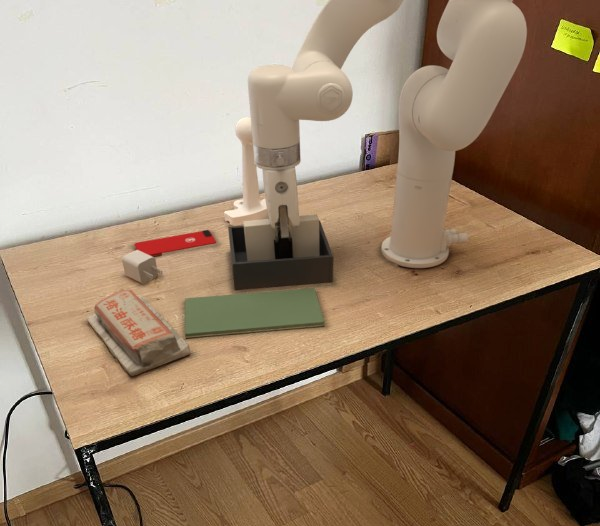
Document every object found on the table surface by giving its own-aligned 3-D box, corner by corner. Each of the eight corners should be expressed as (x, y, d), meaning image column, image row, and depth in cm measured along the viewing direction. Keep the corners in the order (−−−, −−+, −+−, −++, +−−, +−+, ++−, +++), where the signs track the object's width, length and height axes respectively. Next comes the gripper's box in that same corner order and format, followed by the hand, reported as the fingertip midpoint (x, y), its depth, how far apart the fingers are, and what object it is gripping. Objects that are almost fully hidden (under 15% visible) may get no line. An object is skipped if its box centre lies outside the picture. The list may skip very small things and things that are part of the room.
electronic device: (139, 258, 116) (217, 244, 120) (139, 256, 115) (216, 241, 119) (134, 245, 120) (209, 231, 124) (133, 242, 119) (208, 229, 123)
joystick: (236, 229, 125) (227, 126, 111) (216, 217, 129) (206, 116, 116) (280, 214, 130) (277, 114, 116) (259, 203, 134) (254, 105, 121)
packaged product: (188, 328, 90) (124, 352, 86) (192, 355, 93) (131, 379, 89) (138, 277, 101) (79, 296, 97) (143, 302, 104) (86, 322, 100)
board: (317, 255, 113) (317, 213, 108) (319, 260, 112) (319, 219, 106) (247, 262, 112) (243, 221, 107) (248, 268, 110) (244, 226, 105)
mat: (314, 292, 106) (314, 287, 106) (324, 327, 98) (324, 321, 98) (186, 303, 104) (185, 298, 103) (185, 339, 96) (185, 333, 96)
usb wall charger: (143, 268, 113) (139, 248, 110) (168, 280, 110) (164, 260, 107) (125, 277, 111) (121, 257, 108) (150, 289, 107) (146, 269, 105)
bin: (319, 247, 119) (320, 220, 115) (332, 284, 108) (333, 256, 104) (230, 253, 117) (228, 226, 113) (234, 292, 106) (232, 264, 103)
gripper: (307, 169, 93) (310, 276, 105) (293, 134, 105) (297, 234, 117) (258, 173, 93) (266, 280, 105) (249, 138, 105) (258, 237, 117)
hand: (283, 255), depth 111 cm, fingers closed on board, 2 cm apart
